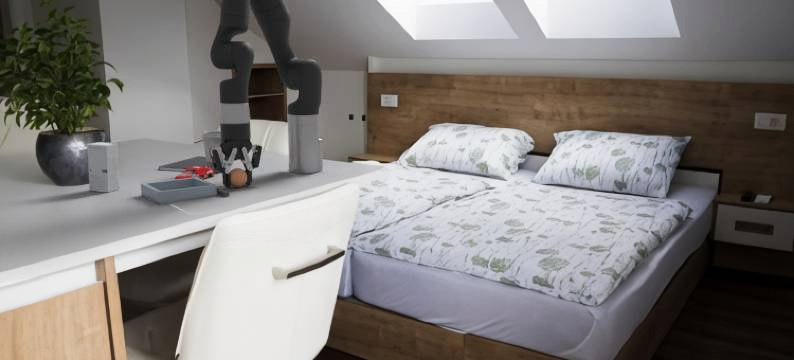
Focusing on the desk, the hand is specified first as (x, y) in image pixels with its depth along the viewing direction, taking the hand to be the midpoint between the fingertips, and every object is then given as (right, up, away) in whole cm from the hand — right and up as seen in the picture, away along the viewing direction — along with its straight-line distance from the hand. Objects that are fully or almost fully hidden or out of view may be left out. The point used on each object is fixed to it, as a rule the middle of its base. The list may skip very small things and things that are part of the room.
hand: (237, 185), depth 166 cm
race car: (-14, +1, +10) cm, 18 cm away
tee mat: (0, -1, 0) cm, 1 cm away
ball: (0, 0, 0) cm, 0 cm away
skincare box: (-33, -1, -3) cm, 33 cm away
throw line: (-5, -2, -4) cm, 7 cm away
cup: (-12, +4, +23) cm, 26 cm away
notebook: (-21, +5, +35) cm, 41 cm away
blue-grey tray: (-12, -3, -9) cm, 16 cm away
